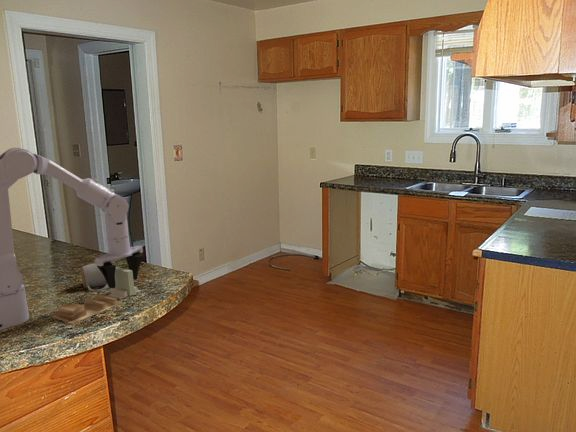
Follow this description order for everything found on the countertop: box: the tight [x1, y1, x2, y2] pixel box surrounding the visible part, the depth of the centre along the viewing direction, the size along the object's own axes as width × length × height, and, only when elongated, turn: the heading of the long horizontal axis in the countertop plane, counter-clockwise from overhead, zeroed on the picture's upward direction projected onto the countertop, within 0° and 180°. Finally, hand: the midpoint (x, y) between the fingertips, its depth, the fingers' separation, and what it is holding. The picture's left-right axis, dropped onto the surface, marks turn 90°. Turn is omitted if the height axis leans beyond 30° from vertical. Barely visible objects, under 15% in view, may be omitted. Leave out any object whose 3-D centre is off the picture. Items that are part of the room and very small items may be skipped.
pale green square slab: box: [115, 266, 136, 297], centre depth 133 cm, size 2×7×7 cm, turn 58°
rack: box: [50, 293, 123, 325], centre depth 123 cm, size 15×9×2 cm, turn 148°
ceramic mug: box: [80, 262, 109, 292], centre depth 140 cm, size 11×8×8 cm
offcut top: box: [57, 302, 84, 315], centre depth 119 cm, size 4×5×1 cm
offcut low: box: [56, 310, 87, 321], centre depth 119 cm, size 4×6×1 cm, turn 58°
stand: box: [107, 285, 142, 300], centre depth 134 cm, size 7×6×2 cm
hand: (123, 283), depth 133 cm, fingers open, 7 cm apart
